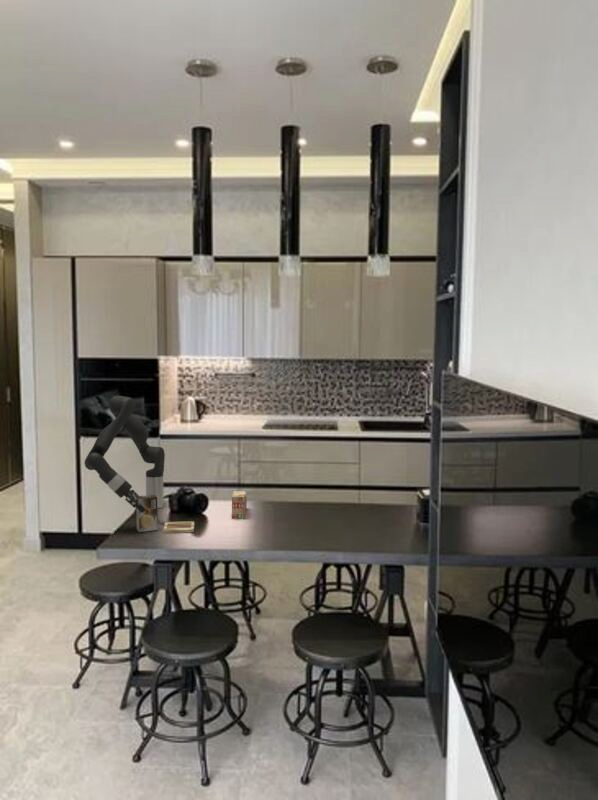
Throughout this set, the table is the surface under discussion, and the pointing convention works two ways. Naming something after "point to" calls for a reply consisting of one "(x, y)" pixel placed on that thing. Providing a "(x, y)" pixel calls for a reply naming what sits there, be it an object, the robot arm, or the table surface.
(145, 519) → the coffee box
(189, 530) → the birch plate
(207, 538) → the table surface
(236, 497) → the printed cardboard box
